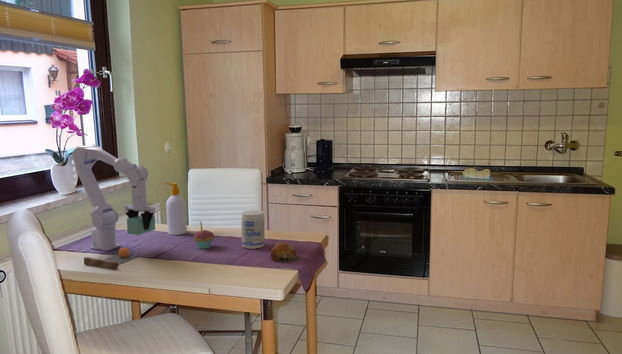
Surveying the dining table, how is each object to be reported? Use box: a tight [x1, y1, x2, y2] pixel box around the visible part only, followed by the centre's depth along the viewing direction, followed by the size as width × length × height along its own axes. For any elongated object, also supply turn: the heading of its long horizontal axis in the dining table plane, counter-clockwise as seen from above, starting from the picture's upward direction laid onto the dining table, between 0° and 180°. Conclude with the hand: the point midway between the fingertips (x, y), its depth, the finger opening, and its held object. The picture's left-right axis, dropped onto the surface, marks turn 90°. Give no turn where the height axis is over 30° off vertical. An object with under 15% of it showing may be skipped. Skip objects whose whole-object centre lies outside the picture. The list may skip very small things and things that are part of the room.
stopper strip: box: [83, 256, 119, 270], centre depth 176 cm, size 16×1×2 cm, turn 66°
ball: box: [118, 247, 130, 258], centre depth 186 cm, size 4×4×4 cm
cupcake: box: [193, 220, 215, 249], centre depth 199 cm, size 9×8×12 cm
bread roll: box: [270, 242, 297, 263], centre depth 184 cm, size 10×10×8 cm
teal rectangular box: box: [126, 214, 156, 236], centre depth 194 cm, size 6×10×6 cm, turn 156°
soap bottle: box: [164, 182, 188, 236], centre depth 221 cm, size 9×9×24 cm
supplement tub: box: [241, 209, 265, 250], centre depth 199 cm, size 10×10×15 cm
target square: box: [103, 253, 138, 266], centre depth 184 cm, size 10×10×1 cm
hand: (140, 228), depth 194 cm, fingers closed on teal rectangular box, 6 cm apart
